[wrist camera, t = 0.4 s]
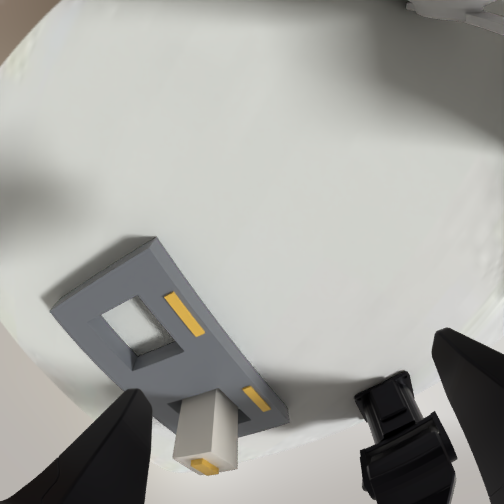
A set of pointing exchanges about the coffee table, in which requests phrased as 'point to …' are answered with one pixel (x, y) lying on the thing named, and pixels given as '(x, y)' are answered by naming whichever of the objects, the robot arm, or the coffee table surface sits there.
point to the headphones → (459, 12)
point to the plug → (207, 433)
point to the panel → (174, 354)
